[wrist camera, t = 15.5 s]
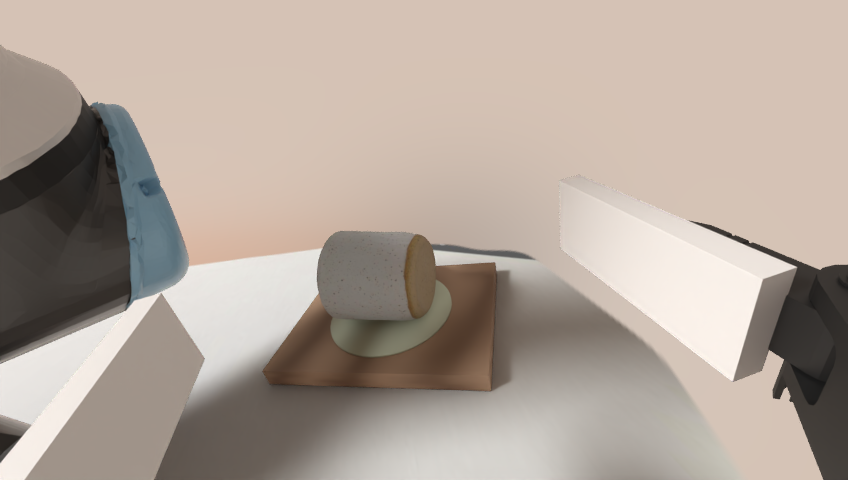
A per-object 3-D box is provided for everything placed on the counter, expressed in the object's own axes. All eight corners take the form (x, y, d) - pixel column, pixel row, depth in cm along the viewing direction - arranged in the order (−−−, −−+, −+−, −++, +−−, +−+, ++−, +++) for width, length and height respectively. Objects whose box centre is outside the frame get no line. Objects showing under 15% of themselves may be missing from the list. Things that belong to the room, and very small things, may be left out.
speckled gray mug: (426, 340, 28) (404, 254, 25) (333, 338, 30) (301, 260, 27) (450, 266, 37) (436, 196, 34) (377, 269, 39) (357, 204, 36)
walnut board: (269, 384, 30) (261, 369, 29) (337, 283, 42) (333, 271, 41) (491, 390, 25) (488, 373, 24) (496, 274, 37) (494, 260, 36)
